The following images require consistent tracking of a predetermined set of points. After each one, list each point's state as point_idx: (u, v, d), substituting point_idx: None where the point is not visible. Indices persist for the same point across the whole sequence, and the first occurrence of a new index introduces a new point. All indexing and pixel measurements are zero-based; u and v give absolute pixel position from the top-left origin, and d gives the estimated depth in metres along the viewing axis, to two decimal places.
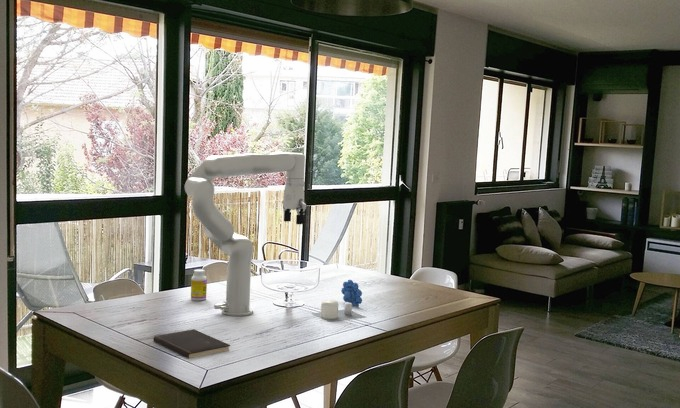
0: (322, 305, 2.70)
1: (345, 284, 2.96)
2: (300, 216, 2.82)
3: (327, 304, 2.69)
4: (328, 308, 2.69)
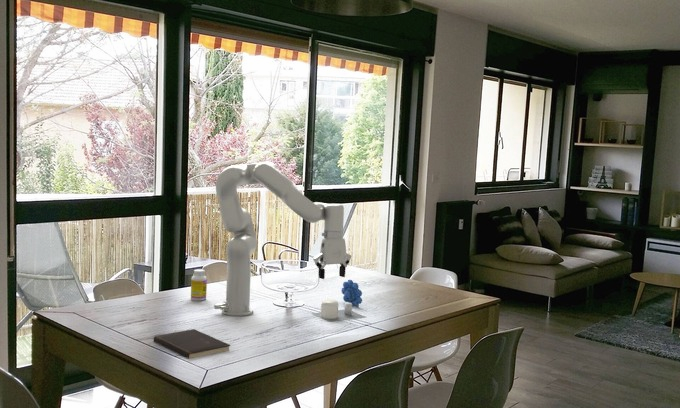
0: (322, 305, 2.70)
1: (345, 284, 2.96)
2: None
3: (327, 304, 2.69)
4: (328, 308, 2.69)
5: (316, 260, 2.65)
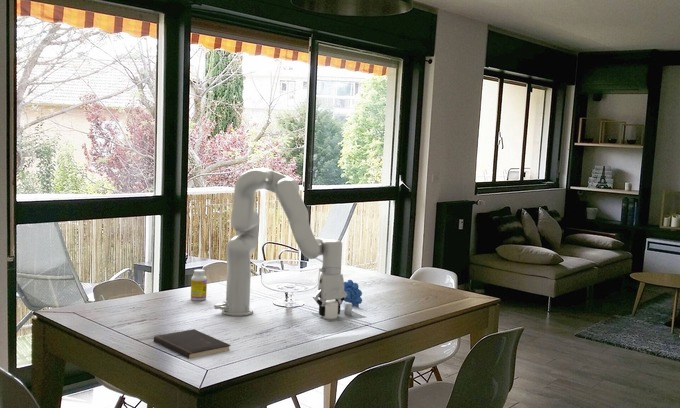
0: None
1: (345, 284, 2.96)
2: None
3: (327, 304, 2.69)
4: (328, 308, 2.69)
5: (316, 298, 2.67)
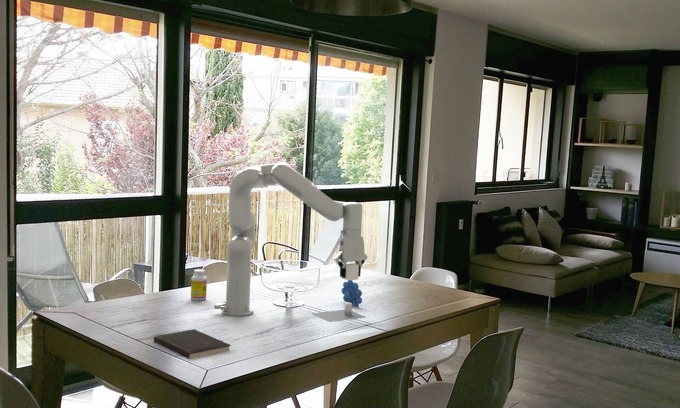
0: None
1: (345, 284, 2.96)
2: None
3: (348, 266, 2.72)
4: (349, 270, 2.72)
5: (337, 260, 2.71)
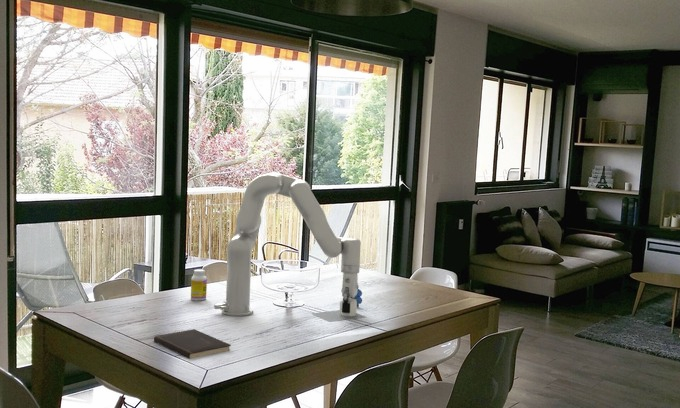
0: None
1: None
2: None
3: (352, 302, 2.74)
4: (353, 306, 2.74)
5: (346, 296, 2.68)
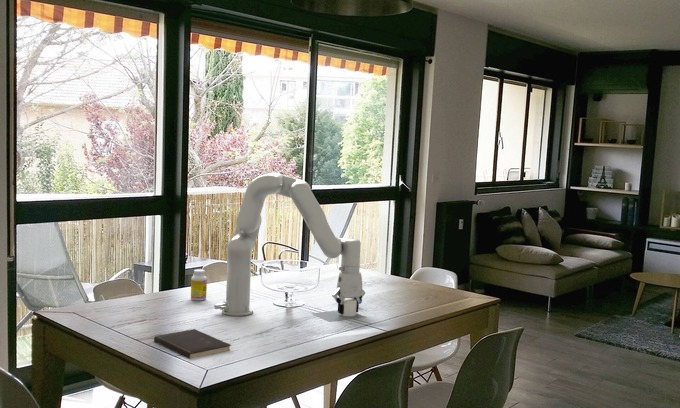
0: (345, 304, 2.74)
1: None
2: None
3: (352, 302, 2.74)
4: (353, 306, 2.74)
5: (335, 296, 2.72)
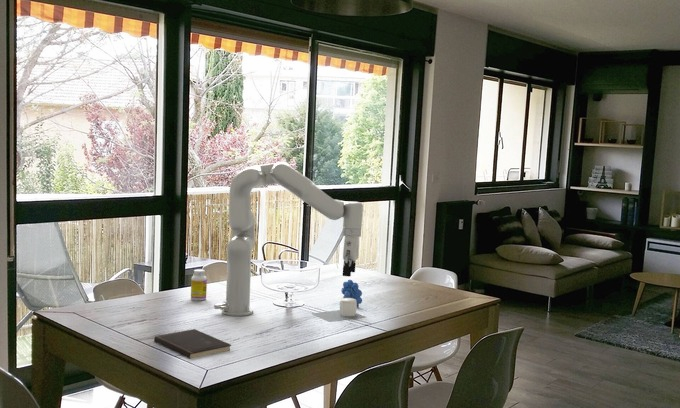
0: (351, 304, 2.74)
1: (345, 284, 2.96)
2: None
3: (355, 301, 2.76)
4: (356, 305, 2.76)
5: (347, 258, 2.67)
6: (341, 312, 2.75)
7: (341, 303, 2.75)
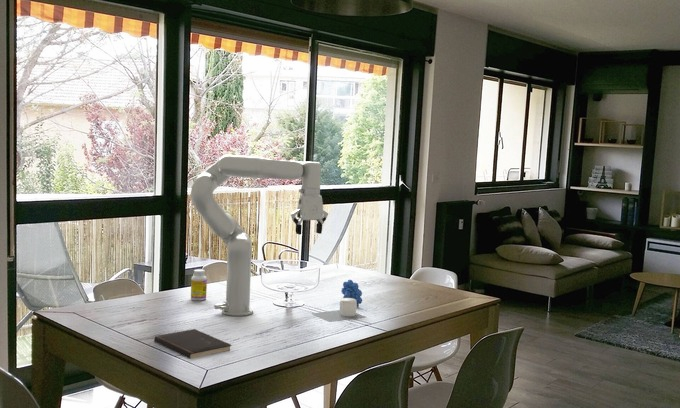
0: (351, 304, 2.74)
1: (345, 284, 2.96)
2: None
3: (355, 301, 2.76)
4: (356, 305, 2.76)
5: (293, 216, 2.73)
6: (341, 312, 2.75)
7: (341, 303, 2.75)
